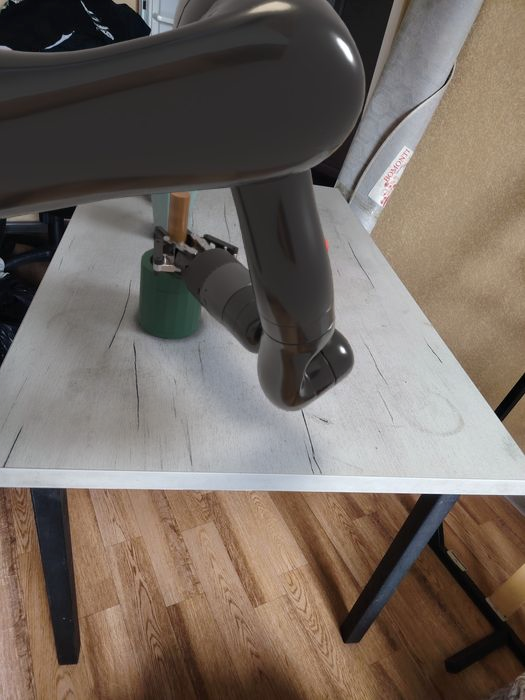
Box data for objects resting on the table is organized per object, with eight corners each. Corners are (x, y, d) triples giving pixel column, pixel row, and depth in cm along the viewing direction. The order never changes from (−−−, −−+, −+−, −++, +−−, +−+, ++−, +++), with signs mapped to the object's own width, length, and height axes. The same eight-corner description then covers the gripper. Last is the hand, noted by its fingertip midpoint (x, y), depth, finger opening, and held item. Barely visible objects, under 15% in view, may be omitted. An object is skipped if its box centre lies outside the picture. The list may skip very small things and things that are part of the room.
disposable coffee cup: (151, 248, 97) (155, 175, 88) (139, 225, 104) (142, 154, 95) (201, 247, 101) (210, 177, 92) (186, 225, 109) (193, 158, 100)
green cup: (147, 342, 73) (151, 280, 67) (132, 306, 80) (134, 247, 73) (207, 335, 78) (216, 276, 71) (188, 302, 84) (195, 245, 78)
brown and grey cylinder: (160, 311, 74) (169, 199, 63) (153, 296, 77) (160, 186, 66) (187, 309, 76) (201, 199, 65) (179, 294, 79) (190, 187, 68)
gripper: (275, 257, 63) (210, 204, 73) (181, 271, 56) (122, 209, 66) (264, 304, 68) (204, 248, 78) (175, 323, 60) (121, 258, 70)
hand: (167, 230), depth 72 cm, fingers closed on brown and grey cylinder, 2 cm apart
